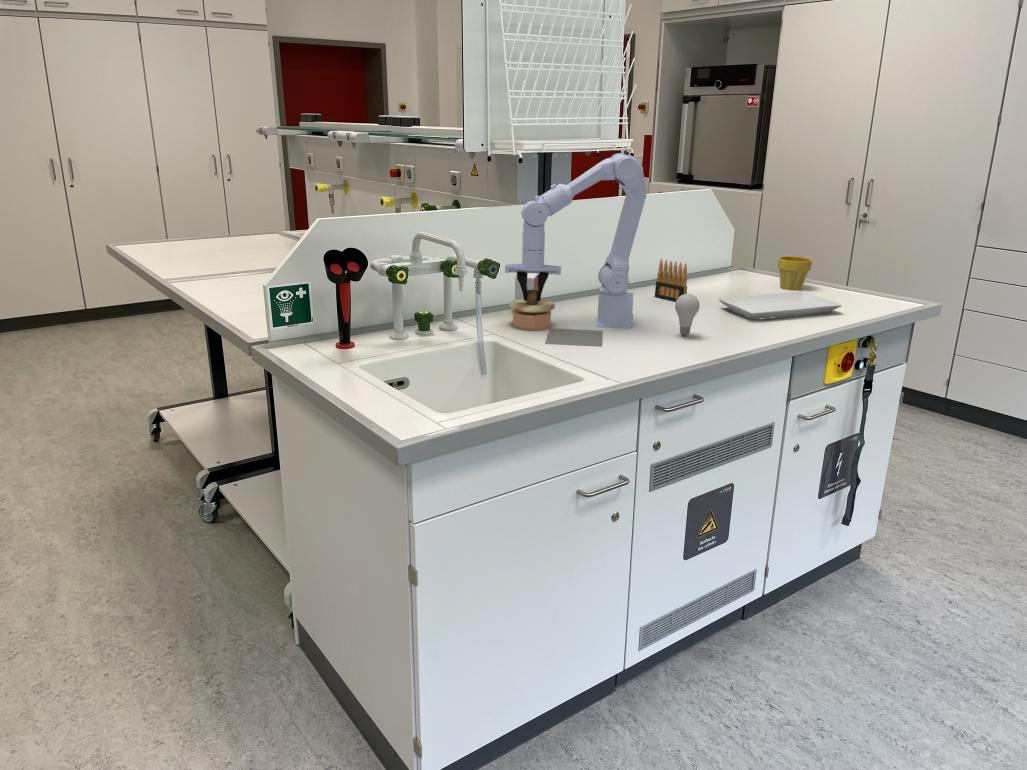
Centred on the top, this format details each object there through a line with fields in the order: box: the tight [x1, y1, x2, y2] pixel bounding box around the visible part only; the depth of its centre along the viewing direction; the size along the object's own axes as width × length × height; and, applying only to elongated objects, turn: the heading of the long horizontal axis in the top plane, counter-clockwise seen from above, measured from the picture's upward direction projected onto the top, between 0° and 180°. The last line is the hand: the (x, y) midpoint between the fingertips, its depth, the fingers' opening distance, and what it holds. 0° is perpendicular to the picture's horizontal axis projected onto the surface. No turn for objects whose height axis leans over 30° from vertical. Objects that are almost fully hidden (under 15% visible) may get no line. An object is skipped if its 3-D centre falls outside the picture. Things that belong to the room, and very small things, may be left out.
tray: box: [717, 291, 842, 320], centre depth 221 cm, size 17×31×4 cm, turn 110°
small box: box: [514, 273, 539, 300], centre depth 216 cm, size 8×6×10 cm
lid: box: [508, 290, 556, 312], centre depth 201 cm, size 12×12×4 cm
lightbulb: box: [674, 293, 701, 337], centre depth 194 cm, size 6×6×11 cm
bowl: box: [512, 309, 552, 331], centre depth 203 cm, size 10×10×4 cm
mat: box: [544, 327, 604, 348], centre depth 193 cm, size 14×14×1 cm
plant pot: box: [777, 255, 813, 291], centre depth 249 cm, size 10×10×10 cm
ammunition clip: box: [654, 258, 688, 303], centre depth 231 cm, size 11×2×12 cm, turn 43°
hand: (532, 300), depth 201 cm, fingers closed on lid, 3 cm apart
